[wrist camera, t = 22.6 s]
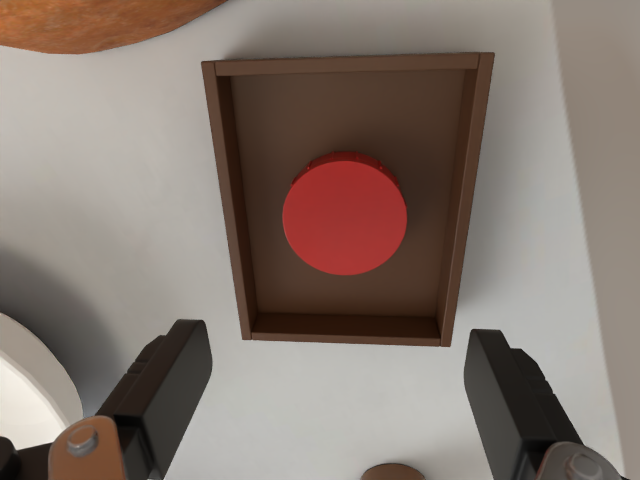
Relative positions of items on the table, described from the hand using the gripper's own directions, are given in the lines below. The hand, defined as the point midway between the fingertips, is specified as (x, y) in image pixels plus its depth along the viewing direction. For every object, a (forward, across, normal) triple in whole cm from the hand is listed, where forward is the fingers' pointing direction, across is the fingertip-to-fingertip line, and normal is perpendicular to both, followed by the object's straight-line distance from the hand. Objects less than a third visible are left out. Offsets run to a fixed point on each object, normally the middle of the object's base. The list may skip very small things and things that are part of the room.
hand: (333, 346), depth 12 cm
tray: (+11, 0, 0) cm, 11 cm away
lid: (+9, 0, 0) cm, 9 cm away
